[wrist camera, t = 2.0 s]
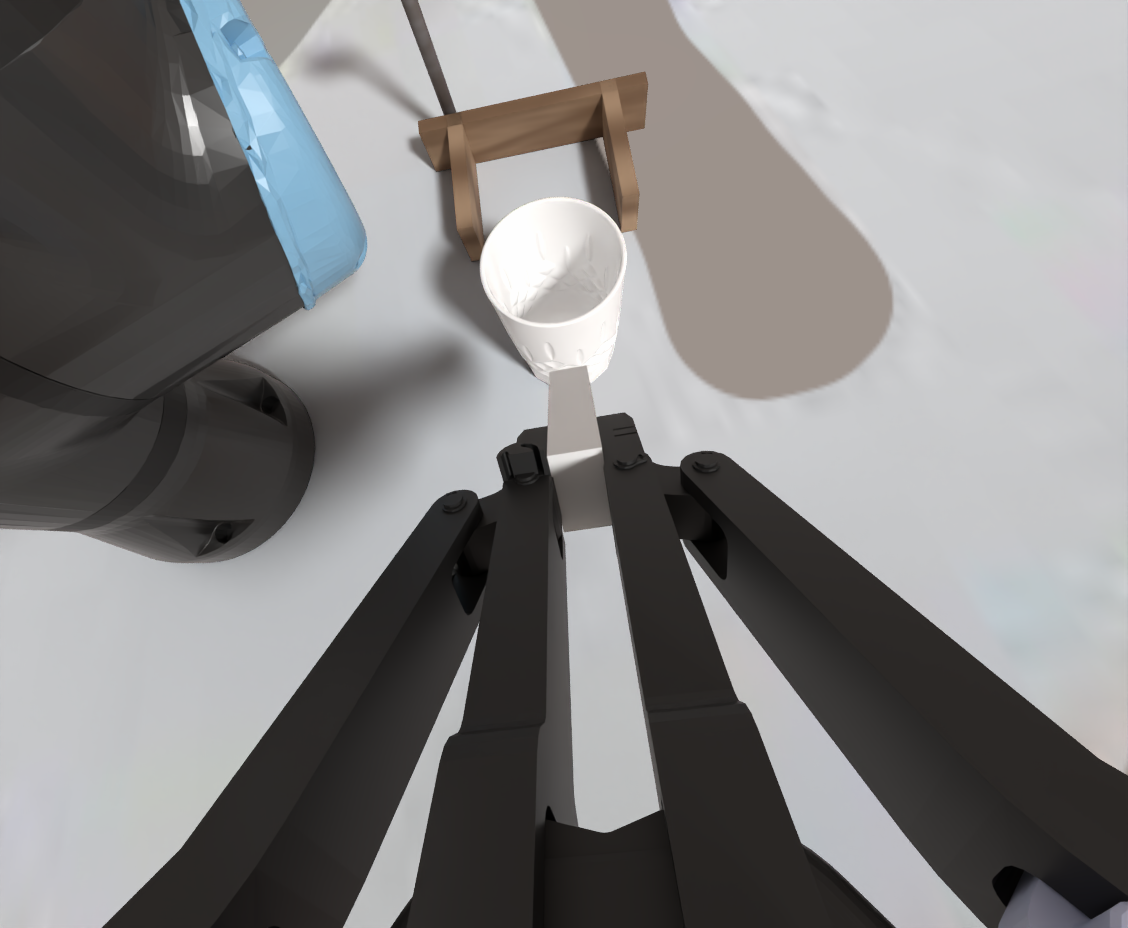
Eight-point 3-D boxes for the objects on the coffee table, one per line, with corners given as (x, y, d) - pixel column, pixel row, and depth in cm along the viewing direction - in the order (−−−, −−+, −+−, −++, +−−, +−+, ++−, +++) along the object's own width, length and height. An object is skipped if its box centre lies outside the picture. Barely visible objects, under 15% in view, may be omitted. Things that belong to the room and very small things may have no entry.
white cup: (510, 392, 33) (467, 321, 23) (525, 298, 34) (491, 194, 24) (615, 401, 32) (618, 331, 22) (626, 303, 33) (633, 197, 23)
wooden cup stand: (665, 224, 34) (712, -56, 19) (421, 271, 36) (275, 47, 20) (639, 105, 37) (660, -226, 21) (413, 153, 38) (278, -124, 23)
